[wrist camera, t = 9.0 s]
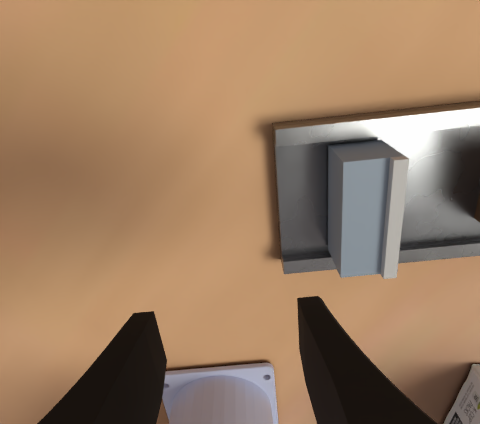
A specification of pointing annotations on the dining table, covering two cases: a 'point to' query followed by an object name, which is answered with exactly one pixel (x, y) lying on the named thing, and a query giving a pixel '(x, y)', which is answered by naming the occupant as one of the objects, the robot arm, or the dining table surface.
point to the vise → (417, 189)
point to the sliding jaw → (366, 207)
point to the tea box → (467, 401)
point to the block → (477, 210)
